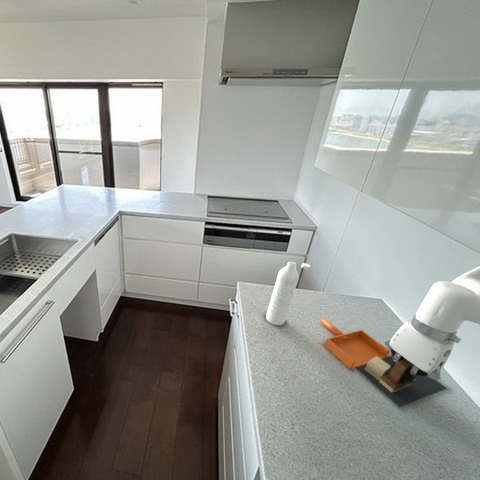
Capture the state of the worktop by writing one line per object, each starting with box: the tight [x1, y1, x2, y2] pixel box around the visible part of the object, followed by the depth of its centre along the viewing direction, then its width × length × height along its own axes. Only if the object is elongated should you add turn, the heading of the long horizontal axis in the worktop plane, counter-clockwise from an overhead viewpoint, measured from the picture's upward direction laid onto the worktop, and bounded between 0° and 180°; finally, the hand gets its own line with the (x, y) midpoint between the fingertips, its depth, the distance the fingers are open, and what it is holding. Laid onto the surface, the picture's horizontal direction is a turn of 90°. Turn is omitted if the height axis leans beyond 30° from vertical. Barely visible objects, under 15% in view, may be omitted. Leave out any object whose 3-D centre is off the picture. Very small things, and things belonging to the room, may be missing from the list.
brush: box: [379, 359, 416, 392], centre depth 72 cm, size 8×4×9 cm, turn 108°
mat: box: [354, 355, 447, 408], centre depth 76 cm, size 20×12×1 cm, turn 107°
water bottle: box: [265, 260, 311, 326], centre depth 91 cm, size 9×6×25 cm
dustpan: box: [320, 317, 391, 369], centre depth 88 cm, size 18×16×3 cm
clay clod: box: [364, 356, 391, 380], centre depth 76 cm, size 4×4×4 cm
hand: (399, 376), depth 73 cm, fingers closed on brush, 2 cm apart
